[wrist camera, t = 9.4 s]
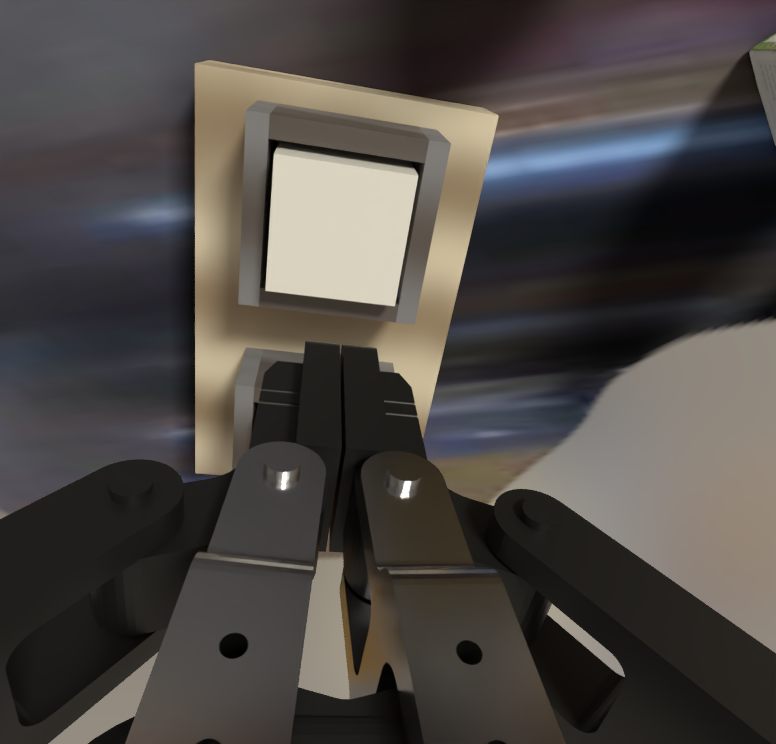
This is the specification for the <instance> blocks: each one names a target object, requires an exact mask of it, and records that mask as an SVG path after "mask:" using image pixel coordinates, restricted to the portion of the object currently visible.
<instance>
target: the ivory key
mask: <svg viewBox="0 0 776 744" xmlns="http://www.w3.org/2000/svg"><path fill="white" fill-rule="evenodd" d="M417 181H418V174H417V172H416V171H415V169H414V167H413V165H412V163H411V162H410V161H408V160H401V159H395V158H388V157H382V156H376V155H369V154H363V153H357V152H350V151H344V150H338V149H331V148H325V147H319V146H312V145H306V144H300V143H293V142H287V141H280V143H279V145H278V147H277V149H276V151H275V152H274V159H273V175H272V192H271V208H270V224H269V240H268V256H267V272H266V288H265V291H271V292H280V293H288V294H296V295H304V296H313V297H321V298H329V299H338V300H346V301H354V302H362V303H371V304H379V305H387V306H395V303H396V297H397V292H398V286H399V281H400V275H401V270H402V264H403V258H404V253H405V247H406V242H407V236H408V231H409V225H410V220H411V214H412V209H413V203H414V198H415V192H416V187H417Z"/></svg>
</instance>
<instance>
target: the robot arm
mask: <svg viewBox="0 0 776 744" xmlns="http://www.w3.org/2000/svg"><path fill="white" fill-rule="evenodd" d="M329 527H330V544H329V552H343V559H344V568H343V573H342V579H341V584H340V599H341V609H342V619H343V628H344V638H345V649H346V659H347V668H348V678H349V691H350V699H348V700H346V699H338V698H334V697H330V696H327V695H323V694H319V693H316V692H313V691H309V690H305V689H302V688H298V683H299V675H300V668H301V660H302V653H303V645H304V637H305V630H306V623H307V615H308V607H309V600H310V592H311V585H312V580H313V578H314V576H315V573H316V566H317V560H318V553H319V551H325V552H326V546H327V540H328V533H329ZM551 604H553V605H555V606H556V607H557V608H559V609H560V610H561V611H562V612H563V613H564V614H565V615H567V616H568V617H569V618H570V619H571V620H573V621H574V622H575V623H576V624H577V625H579V626H580V627H581V628H582V629H583V630H585V631H586V632H587V633H588V634H590V635H591V636H592V637H593V638H594V639H595V640H597V641H598V642H599V643H600V644H601V645H603V646H604V647H605V648H606V649H607V650H609V651H610V652H611V653H612V654H613V655H614V656H615V657H616V659H617V660H618V661H619V663H620V665H621V666H622V668H623V671H624V674H625V677H623V676H621V675H618V674H617V673H615V672H614V671H613V670H611V669H610V668H609V667H608V666H607V665H606V664H605V663H603V662H602V661H601V660H600V659H599V658H598V657H596V656H595V655H594V654H593V653H592V652H590V651H589V650H588V649H587V648H586V647H585V646H583V645H582V644H581V643H580V642H579V641H577V640H576V639H575V638H574V637H573V636H572V635H570V634H569V633H568V632H567V631H566V630H565V629H563V628H562V627H561V626H560V625H559V624H558V623H556V622H555V621H554V620H553V619H552V618H551V617H549V616H548V615H547V613H548V611H549V609H550V607H551ZM158 651H159V653H158V655H157V658H156V661H155V663H154V666H153V669H152V672H151V674H150V677H149V680H148V683H147V685H146V688H145V691H144V694H143V696H142V699H141V702H140V704H139V707H138V710H137V713H136V716H135V717H133V718H131V719H129V720H126V721H124V722H122V723H120V724H118V725H116V726H114V727H113V728H111V729H110V730H108V731H106V732H105V733H103V734H102V735H100V736H98V737H97V738H95V739H93V740H92V741H91V742H89V743H88V744H776V653H774V652H773V651H771V650H770V649H769V648H767V647H766V646H764V645H763V644H762V643H760V642H759V641H757V640H756V639H754V638H753V637H752V636H750V635H749V634H747V633H746V632H745V631H743V630H742V629H740V628H739V627H737V626H736V625H735V624H733V623H732V622H730V621H729V620H727V619H726V618H725V617H723V616H722V615H720V614H719V613H717V612H716V611H715V610H713V609H712V608H710V607H709V606H708V605H706V604H705V603H703V602H702V601H700V600H699V599H698V598H696V597H695V596H693V595H692V594H691V593H689V592H688V591H686V590H685V589H683V588H682V587H680V586H679V585H678V584H676V583H675V582H673V581H672V580H671V579H669V578H668V577H666V576H665V575H663V574H662V573H661V572H659V571H658V570H656V569H655V568H654V567H652V566H651V565H649V564H648V563H646V562H645V561H644V560H642V559H641V558H639V557H638V556H637V555H635V554H634V553H632V552H631V551H629V550H628V549H627V548H625V547H624V546H622V545H621V544H619V543H618V542H617V541H615V540H614V539H612V538H611V537H610V536H608V535H607V534H605V533H604V532H602V531H601V530H600V529H598V528H597V527H595V526H594V525H592V524H591V523H590V522H588V521H587V520H585V519H584V518H583V517H581V516H580V515H578V514H577V513H575V512H574V511H572V510H571V509H570V508H568V507H567V506H565V505H564V504H562V503H561V502H560V501H558V500H556V499H555V498H553V497H551V496H549V495H546V494H544V493H541V492H537V491H534V490H527V489H515V490H510V491H507V492H505V493H503V494H502V495H500V496H499V497H498V498H497V500H496V502H495V505H494V506H492V505H488V504H485V503H482V502H479V501H475V500H472V499H469V498H466V497H463V496H461V495H459V494H457V493H455V492H453V491H451V490H449V489H448V488H447V486H446V483H445V480H444V478H443V476H442V474H441V472H440V471H439V469H438V468H437V467H436V466H435V465H433V464H432V463H431V462H429V461H428V460H427V456H426V452H425V447H424V443H423V438H422V433H421V429H420V424H419V419H418V418H417V410H416V405H415V401H414V396H413V392H412V387H411V386H410V385H409V384H408V383H407V381H406V380H405V379H404V378H403V377H402V376H401V375H400V374H399V373H393V372H384V371H380V367H379V360H378V352H377V348H374V347H364V346H355V345H346V344H342V347H341V353H340V344H336V343H326V342H317V341H308V340H305V348H304V358H303V363H294V362H285V361H277V362H275V363H274V364H273V365H272V366H271V367H270V368H269V369H268V370H267V371H266V372H265V373H264V377H263V382H262V387H261V392H260V397H259V403H258V407H257V412H256V417H255V422H254V426H253V431H252V436H251V441H250V446H249V450H248V451H246V452H245V453H244V454H243V455H242V456H241V457H240V459H239V461H238V463H237V466H236V468H235V469H233V470H232V471H230V472H228V473H226V474H224V475H221V476H218V477H215V478H212V479H207V480H201V481H195V482H188V483H183V481H182V479H181V476H180V475H179V474H178V473H177V472H176V471H175V470H174V469H173V468H171V467H169V466H168V465H166V464H163V463H160V462H156V461H152V460H126V461H121V462H117V463H114V464H110V465H108V466H105V467H103V468H101V469H99V470H97V471H95V472H93V473H91V474H89V475H87V476H85V477H83V478H81V479H79V480H77V481H75V482H73V483H71V484H69V485H67V486H65V487H63V488H61V489H59V490H57V491H55V492H53V493H51V494H49V495H47V496H45V497H43V498H41V499H39V500H37V501H35V502H33V503H31V504H30V505H28V506H26V507H24V508H22V509H20V510H18V511H16V512H14V513H12V514H10V515H8V516H6V517H4V518H2V519H0V744H48V743H49V742H51V741H52V740H53V739H54V738H55V737H56V736H58V735H59V734H60V733H61V732H63V731H64V730H65V729H66V728H67V727H69V726H70V725H71V724H72V723H73V722H74V721H76V720H77V719H78V718H79V717H81V716H82V715H83V714H84V713H85V712H86V711H88V710H89V709H90V708H91V707H92V706H94V705H95V704H96V703H97V702H98V701H100V700H101V699H102V698H103V697H104V696H106V695H107V694H108V693H109V692H110V691H112V690H113V689H114V688H115V687H116V686H118V685H119V684H120V683H121V682H122V681H124V680H125V679H126V678H127V677H128V676H130V675H131V674H132V673H133V672H134V671H136V670H137V669H138V668H139V667H140V666H142V665H143V664H144V663H145V662H146V661H148V660H149V659H150V658H151V657H152V656H154V655H155V654H156V653H157V652H158Z"/></svg>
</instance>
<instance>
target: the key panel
mask: <svg viewBox="0 0 776 744" xmlns="http://www.w3.org/2000/svg"><path fill="white" fill-rule="evenodd" d="M498 117H499V116H498V115H496V114H494V113H492V112H490V111H488V110H487V109H485V108H482V107H476V106H470V105H465V104H459V103H453V102H447V101H442V100H436V99H430V98H424V97H419V96H413V95H407V94H401V93H396V92H390V91H384V90H378V89H373V88H367V87H361V86H355V85H350V84H344V83H338V82H332V81H327V80H321V79H315V78H309V77H304V76H298V75H292V74H286V73H281V72H275V71H269V70H263V69H258V68H252V67H246V66H240V65H235V64H229V63H223V62H217V61H212V60H209V61H204V62H199V63H195V473H199V474H212V475H224V474H226V473H228V472H230V471H232V470H233V469H235V468H236V466H237V463H238V461H239V459H240V457H241V456H242V455H243V454H244V453H245V452H246V451H248V450H249V446H250V441H251V436H252V431H253V426H254V422H255V417H256V412H257V407H258V403H259V397H260V392H261V387H262V382H263V377H264V373H265V372H266V371H267V370H268V369H269V368H270V367H271V366H272V365H273V364H274V363H275V362H277V361H285V362H294V363H303V358H304V348H305V340H308V341H317V342H326V343H336V344H340V353H341V347H342V344H346V345H355V346H364V347H374V348H377V352H378V360H379V367H380V371H384V372H393V373H399V374H400V375H401V376H402V377H403V378H404V379H405V380H406V381H407V383H408V384H409V385H410V386H411V387H412V392H413V396H414V401H415V405H416V410H417V418H418V419H419V424H420V429H421V433H422V438H423V436H424V432H425V427H426V423H427V419H428V415H429V410H430V406H431V402H432V398H433V393H434V389H435V385H436V381H437V376H438V372H439V368H440V364H441V359H442V355H443V351H444V347H445V342H446V338H447V334H448V330H449V325H450V321H451V317H452V313H453V308H454V304H455V300H456V295H457V291H458V287H459V283H460V278H461V274H462V270H463V266H464V261H465V257H466V253H467V249H468V244H469V240H470V236H471V232H472V227H473V223H474V219H475V215H476V210H477V206H478V202H479V198H480V193H481V189H482V185H483V181H484V176H485V172H486V168H487V164H488V159H489V155H490V151H491V146H492V142H493V138H494V134H495V129H496V125H497V121H498ZM280 141H287V142H293V143H300V144H306V145H312V146H319V147H325V148H331V149H338V150H344V151H350V152H357V153H363V154H369V155H376V156H382V157H388V158H395V159H401V160H408V161H410V162H411V163H412V165H413V167H414V169H415V171H416V172H417V174H418V181H417V187H416V192H415V198H414V203H413V209H412V214H411V220H410V225H409V231H408V236H407V242H406V247H405V253H404V258H403V264H402V270H401V275H400V281H399V286H398V292H397V297H396V303H395V306H387V305H379V304H371V303H362V302H354V301H346V300H338V299H329V298H321V297H313V296H304V295H296V294H288V293H280V292H271V291H265V288H266V272H267V256H268V240H269V224H270V208H271V192H272V175H273V159H274V152H275V151H276V149H277V147H278V145H279V143H280Z"/></svg>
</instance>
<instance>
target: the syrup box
mask: <svg viewBox="0 0 776 744" xmlns="http://www.w3.org/2000/svg"><path fill="white" fill-rule="evenodd" d="M749 54H750V59H751V63H752V66H753V71H754V74H755V78H756V82H757V86H758V89H759V93H760V96H761V99H762V103H763V106H764V109H765V113H766V116H767V120H768V123H769V126H770V129H771V133H772V136H773V140H774V143H775V146H776V33H775V34H773V35H772V36H770V37H768V38H767V39H765V40H764V41H762V42H761V43H759V44H758V45H756V46H755V47H753V48H752V49H751V50H750V52H749Z"/></svg>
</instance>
